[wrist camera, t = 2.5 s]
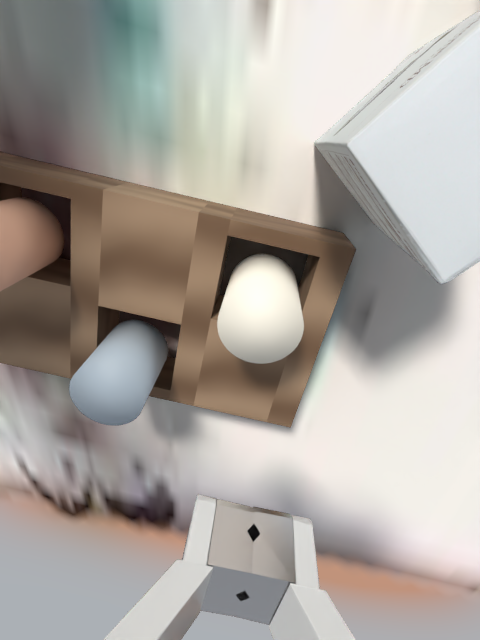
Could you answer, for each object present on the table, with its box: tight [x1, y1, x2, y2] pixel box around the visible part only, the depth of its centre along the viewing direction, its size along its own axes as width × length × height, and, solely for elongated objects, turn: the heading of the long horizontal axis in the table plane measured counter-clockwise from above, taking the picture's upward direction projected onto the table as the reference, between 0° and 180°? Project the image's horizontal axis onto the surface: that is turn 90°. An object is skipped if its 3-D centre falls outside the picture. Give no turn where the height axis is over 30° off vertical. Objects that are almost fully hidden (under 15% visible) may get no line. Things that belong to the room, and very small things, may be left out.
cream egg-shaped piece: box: [217, 254, 304, 364], centre depth 22 cm, size 5×5×6 cm
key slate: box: [69, 320, 168, 425], centre depth 25 cm, size 5×5×6 cm
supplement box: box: [314, 10, 480, 284], centre depth 18 cm, size 7×7×13 cm
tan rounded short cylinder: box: [0, 197, 64, 291], centre depth 22 cm, size 5×5×6 cm
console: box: [0, 152, 356, 427], centre depth 28 cm, size 15×26×4 cm, turn 78°
